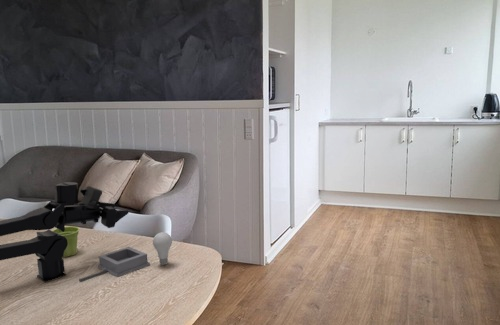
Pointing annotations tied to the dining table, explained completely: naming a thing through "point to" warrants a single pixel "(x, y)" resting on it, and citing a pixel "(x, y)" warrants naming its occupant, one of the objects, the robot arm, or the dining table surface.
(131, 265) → the grey square pan
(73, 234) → the plant pot
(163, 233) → the lightbulb
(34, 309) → the dining table surface
